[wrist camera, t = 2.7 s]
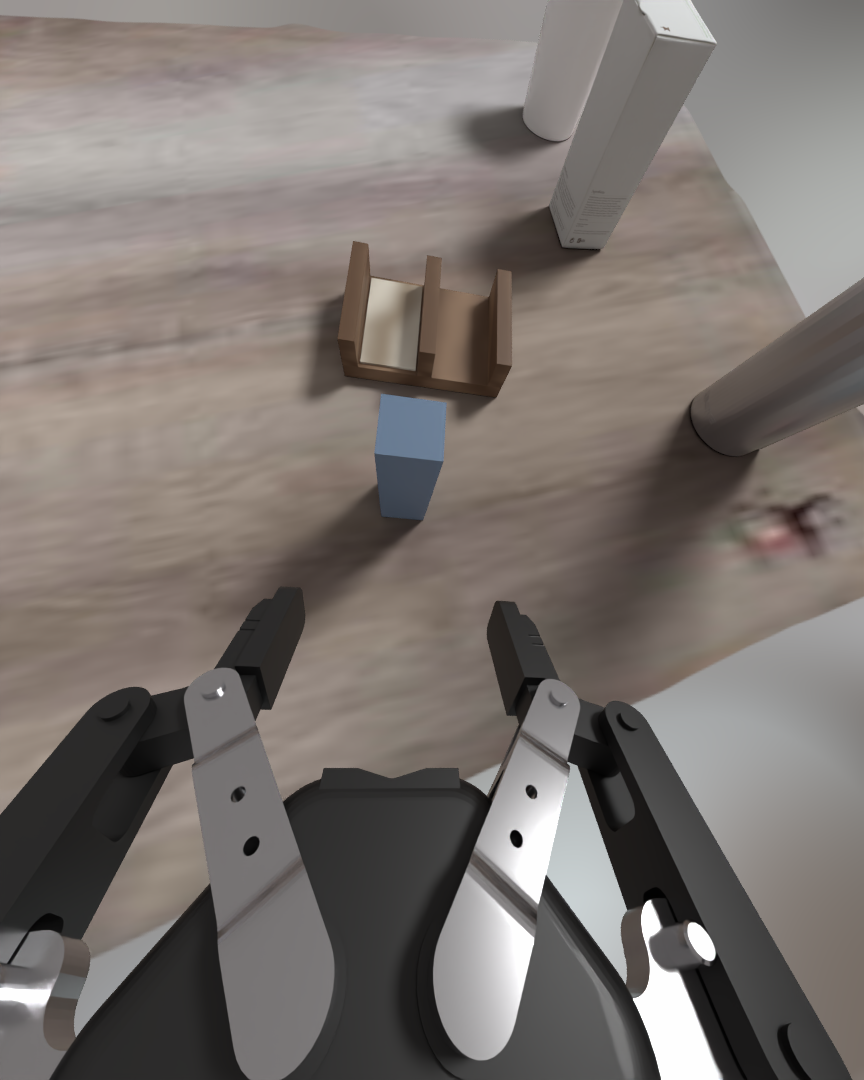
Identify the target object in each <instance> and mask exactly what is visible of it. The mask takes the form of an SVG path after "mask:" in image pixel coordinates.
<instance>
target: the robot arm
mask: <svg viewBox="0 0 864 1080" xmlns="http://www.w3.org/2000/svg"><path fill="white" fill-rule="evenodd" d="M863 404H864V278H862V279H861V280H859V281H858V282H857V283H855V284H854V285H852V286H851V287H849V288H848V289H847V290H845V291H844V292H843V293H841V294H840V295H838V296H837V297H835V298H834V299H832V300H831V301H830V302H828V303H827V304H825V305H824V306H823V307H821V308H820V309H818V310H817V311H816V312H814V313H813V314H811V315H810V316H808V317H807V318H806V319H804V320H803V321H801V322H800V323H799V324H797V325H796V326H794V327H793V328H791V329H790V330H789V331H787V332H786V333H784V334H783V335H782V336H780V337H779V338H777V339H776V340H774V341H773V342H772V343H770V344H769V345H767V346H766V347H765V348H763V349H762V350H760V351H759V352H757V353H756V354H755V355H753V356H752V357H750V358H749V359H748V360H746V361H745V362H743V363H742V364H740V365H739V366H738V367H736V368H735V369H733V370H732V371H730V372H729V373H728V374H726V375H725V376H723V377H722V378H721V379H719V380H718V381H716V382H715V383H713V384H712V385H711V386H709V387H708V388H706V389H705V390H704V391H702V392H701V393H699V394H698V395H697V396H696V397H695V398H694V400H693V403H692V406H691V418H692V422H693V425H694V427H695V429H696V431H697V433H698V434H699V436H700V437H701V438H702V439H703V440H704V442H705V443H706V444H708V445H709V446H710V447H711V448H713V449H714V450H716V451H718V452H720V453H722V454H725V455H729V456H742V455H745V454H747V453H750V452H752V451H754V450H757V449H762V448H764V447H767V446H769V445H771V444H774V443H776V442H778V441H780V440H783V439H785V438H787V437H790V436H792V435H794V434H796V433H799V432H801V431H803V430H806V429H808V428H810V427H812V426H815V425H817V424H819V423H822V422H824V421H826V420H828V419H831V418H833V417H835V416H838V415H840V414H842V413H844V412H847V411H849V410H851V409H853V408H856V407H858V406H860V405H863ZM304 624H305V610H304V602H303V594H302V589H301V588H297V587H280V588H279V589H278V590H277V592H276V594H275V596H274V597H273V599H263V600H262V601H261V602H260V603H258V604H257V605H256V606H255V607H253V608H252V610H251V611H250V613H249V615H248V616H247V618H246V619H245V622H243V624H242V626H241V627H240V630H239V631H238V632H237V634H236V635H235V637H234V638H233V640H232V642H231V643H230V645H229V646H228V648H227V649H226V651H225V653H224V654H223V656H222V657H221V659H220V661H219V662H218V664H217V665H216V667H215V668H214V669H213V670H211V671H208V672H206V673H204V674H202V675H201V676H199V677H198V678H197V679H195V680H194V681H193V682H192V683H191V685H190V686H188V687H185V688H182V689H178V690H173V691H169V692H165V693H161V694H157V695H152V696H151V695H150V693H149V692H148V691H147V690H146V689H144V688H141V687H129V688H124V689H121V690H118V691H116V692H113V693H111V694H109V695H107V696H106V697H104V698H102V699H101V700H99V701H98V702H97V703H95V704H94V705H93V706H92V707H91V708H90V709H89V710H88V711H87V712H86V713H85V715H84V716H83V717H82V718H81V719H80V720H79V722H78V723H77V724H76V725H75V726H74V728H73V729H72V730H71V731H70V732H69V734H68V735H67V736H66V737H65V738H64V740H63V741H62V742H61V743H60V744H59V745H58V747H57V748H56V749H55V750H54V751H53V753H52V754H51V755H50V756H49V757H48V759H47V760H46V761H45V762H44V763H43V765H42V766H41V767H40V768H39V769H38V771H37V772H36V773H35V774H34V775H33V776H32V778H31V779H30V780H29V781H28V782H27V784H26V785H25V786H24V787H23V788H22V790H21V791H20V792H19V793H18V794H17V796H16V797H15V798H14V799H13V800H12V802H11V803H10V804H9V805H8V806H7V807H6V809H5V810H4V811H3V812H2V813H1V815H0V1080H852V1079H851V1076H850V1074H849V1072H848V1070H847V1068H846V1066H845V1064H844V1063H843V1061H842V1058H841V1057H840V1055H839V1053H838V1051H837V1050H836V1048H835V1046H834V1044H833V1043H832V1041H831V1039H830V1038H829V1036H828V1034H827V1032H826V1031H825V1029H824V1027H823V1025H822V1024H821V1022H820V1020H819V1018H818V1017H817V1015H816V1013H815V1012H814V1010H813V1008H812V1006H811V1005H810V1003H809V1001H808V999H807V998H806V996H805V994H804V992H803V991H802V989H801V987H800V986H799V984H798V982H797V980H796V979H795V977H794V975H793V973H792V972H791V970H790V968H789V966H788V965H787V963H786V961H785V960H784V958H783V956H782V954H781V953H780V951H779V949H778V947H777V946H776V944H775V942H774V940H773V939H772V937H771V935H770V934H769V932H768V930H767V928H766V926H765V925H764V923H763V921H762V920H761V918H760V917H759V915H758V913H757V911H756V909H755V907H754V906H753V904H752V902H751V900H750V899H749V897H748V895H747V893H746V892H745V890H744V888H743V887H742V885H741V883H740V881H739V880H738V878H737V876H736V875H735V873H734V871H733V869H732V867H731V866H730V864H729V862H728V861H727V859H726V857H725V855H724V854H723V852H722V850H721V848H720V847H719V845H718V843H717V841H716V840H715V838H714V836H713V835H712V833H711V831H710V829H709V828H708V826H707V824H706V823H705V821H704V819H703V817H702V816H701V814H700V812H699V810H698V808H697V807H696V805H695V804H694V802H693V800H692V798H691V797H690V795H689V793H688V791H687V789H686V788H685V786H684V784H683V782H682V781H681V779H680V777H679V776H678V774H677V772H676V770H675V769H674V767H673V765H672V763H671V762H670V760H669V758H668V756H667V755H666V753H665V751H664V749H663V748H662V746H661V745H660V743H659V741H658V739H657V737H656V736H655V734H654V732H653V731H652V729H651V727H650V725H649V724H648V722H647V720H646V719H645V718H644V717H643V715H642V714H641V713H640V712H638V711H637V710H636V709H635V708H633V707H632V706H630V705H628V704H626V703H624V702H620V701H612V702H610V703H608V704H607V706H606V707H605V708H604V707H601V706H598V705H595V704H592V703H589V702H587V701H584V700H581V699H579V698H578V697H577V696H576V694H575V693H574V691H573V690H572V689H571V688H570V687H569V686H567V685H566V684H564V683H563V682H561V681H560V680H559V678H558V676H557V673H556V671H555V669H554V666H553V664H552V662H551V660H550V657H549V655H548V653H547V651H546V648H545V646H543V642H542V639H541V637H540V635H539V633H538V630H537V628H536V626H535V624H534V623H533V622H532V621H531V620H530V619H529V617H528V616H527V615H520V613H519V610H518V608H517V605H516V604H515V602H508V601H496V602H495V604H494V607H493V611H492V614H491V617H490V620H489V623H488V627H487V640H488V644H489V648H490V652H491V656H492V660H493V663H494V667H495V671H496V675H497V679H498V683H499V687H500V691H501V695H502V699H503V703H504V707H505V711H506V715H507V716H517V719H518V723H519V725H518V726H517V729H516V731H515V733H514V736H513V738H512V740H511V743H510V745H509V747H508V750H507V752H506V755H505V757H504V759H503V762H502V764H501V766H500V769H499V771H498V773H497V775H496V778H495V780H494V782H493V784H492V786H491V788H490V790H489V793H488V795H487V796H486V795H485V794H484V793H483V792H482V791H481V790H479V789H478V788H477V787H475V786H474V785H472V784H470V783H468V782H466V781H464V780H462V779H459V771H458V768H425V769H422V770H419V771H416V772H413V773H410V774H407V775H403V776H400V777H397V778H387V777H384V776H381V775H378V774H374V773H371V772H368V771H365V770H362V769H359V768H324V769H323V774H322V778H321V779H320V780H317V781H314V782H312V783H309V784H307V785H305V786H304V787H302V788H300V789H299V790H297V791H296V792H294V793H293V794H292V795H290V796H289V797H288V798H287V799H286V800H285V801H284V802H282V799H281V796H280V793H279V790H278V787H277V784H276V781H275V778H274V775H273V772H272V769H271V766H270V764H269V761H268V758H267V755H266V752H265V749H264V746H263V743H262V740H261V737H260V734H259V731H258V728H257V726H256V723H255V721H256V718H257V716H258V714H259V711H260V709H262V710H271V709H272V706H273V704H274V701H275V699H276V696H277V694H278V691H279V689H280V686H281V684H282V681H283V679H284V676H285V674H286V671H287V669H288V666H289V664H290V661H291V659H292V656H293V654H294V651H295V649H296V646H297V644H298V641H299V639H300V636H301V634H302V631H303V628H304ZM193 758H194V764H193V765H192V777H193V783H194V789H195V795H196V801H197V807H198V813H199V819H200V825H201V831H202V837H203V842H204V848H205V854H206V860H207V866H208V872H209V878H210V884H209V885H208V886H207V887H206V888H205V890H204V891H203V892H202V893H201V894H200V895H199V896H198V897H197V899H196V900H195V901H194V902H193V903H192V904H191V905H190V906H189V908H188V909H187V910H186V911H185V912H184V913H183V914H182V915H181V917H180V918H179V919H178V920H177V921H176V922H175V923H174V924H173V926H172V927H171V928H170V929H169V930H168V931H167V932H166V933H165V935H164V936H163V937H162V938H161V939H160V940H159V941H158V943H157V944H156V945H155V946H154V947H153V948H152V949H151V950H150V952H149V953H148V954H147V955H146V956H145V957H144V959H142V961H141V962H140V963H139V964H138V965H137V966H136V967H135V969H134V970H133V971H132V972H131V973H130V974H129V975H128V976H127V977H126V979H125V980H124V981H123V982H122V983H121V985H119V986H118V988H117V989H116V990H115V991H114V992H113V993H112V994H111V996H110V997H109V998H108V999H107V1000H106V1001H105V1002H104V1003H103V1004H102V1006H101V1007H100V1008H99V1009H98V1010H97V1011H96V1013H95V1014H94V1015H93V1016H92V1017H91V1019H90V1020H89V1021H88V1023H87V1024H86V1025H85V1026H84V1028H83V1029H82V1030H81V1032H80V1033H79V1034H78V1036H77V1037H75V1032H74V1016H75V1009H76V1006H77V1002H78V999H79V996H80V994H81V991H82V989H83V986H84V983H85V981H86V978H87V975H88V971H89V966H90V952H89V948H88V946H87V945H86V943H84V942H83V941H82V940H81V939H82V937H83V935H84V933H85V931H86V929H87V928H88V926H89V924H90V922H91V920H92V918H93V916H94V914H95V912H96V910H97V908H98V907H99V905H100V903H101V901H102V899H103V897H104V895H105V893H106V891H107V889H108V888H109V886H110V884H111V882H112V880H113V878H114V876H115V874H116V872H117V870H118V869H119V867H120V865H121V863H122V861H123V859H124V857H125V855H126V853H127V851H128V849H129V848H130V846H131V844H132V842H133V840H134V838H135V836H136V834H137V832H138V830H139V829H140V827H141V825H142V823H143V821H144V819H145V817H146V815H147V813H148V811H149V810H150V808H151V806H152V804H153V802H154V800H155V798H156V796H157V794H158V792H159V791H160V789H161V787H162V785H163V783H164V781H165V779H166V777H167V775H168V773H169V771H170V770H171V768H172V766H173V765H174V764H177V763H180V762H183V761H186V760H189V759H193ZM567 762H570V763H572V764H575V765H577V766H578V768H579V771H580V774H581V777H582V780H583V783H584V785H585V788H586V791H587V794H588V797H589V800H590V803H591V806H592V809H593V812H594V814H595V818H596V821H597V823H598V826H599V829H600V832H601V835H602V838H603V841H604V844H605V847H606V849H607V852H608V855H609V858H610V861H611V864H612V867H613V870H614V873H615V875H616V878H617V881H618V884H619V887H620V890H621V893H622V896H623V899H624V902H625V905H626V908H627V912H626V913H625V914H624V916H623V919H622V923H621V937H622V944H623V948H624V954H625V958H626V964H627V980H626V985H625V983H624V981H623V980H622V978H621V977H620V976H619V974H618V972H617V971H616V969H615V968H614V967H613V965H612V964H611V963H610V961H609V960H608V958H607V957H606V956H605V954H604V953H603V952H602V950H601V949H600V947H599V946H598V945H597V943H596V942H595V941H594V939H593V938H592V937H591V935H590V934H589V933H588V931H587V930H586V929H585V927H584V926H583V924H582V923H581V922H580V920H579V919H578V918H577V916H576V915H575V913H574V912H573V911H572V910H571V908H570V907H569V905H568V904H567V903H566V901H565V900H564V898H563V897H562V896H561V895H560V893H559V892H558V891H557V889H556V888H555V887H554V885H553V884H552V882H551V881H550V879H549V878H548V877H547V875H546V870H547V866H548V862H549V857H550V853H551V849H552V845H553V841H554V836H555V832H556V828H557V824H558V819H559V815H560V811H561V807H562V803H563V798H564V794H565V790H566V785H567V781H568V777H569V772H570V766H569V765H568V764H567Z"/></svg>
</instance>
